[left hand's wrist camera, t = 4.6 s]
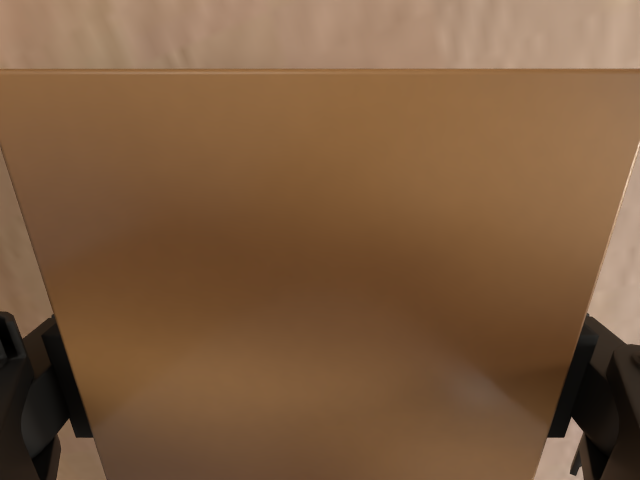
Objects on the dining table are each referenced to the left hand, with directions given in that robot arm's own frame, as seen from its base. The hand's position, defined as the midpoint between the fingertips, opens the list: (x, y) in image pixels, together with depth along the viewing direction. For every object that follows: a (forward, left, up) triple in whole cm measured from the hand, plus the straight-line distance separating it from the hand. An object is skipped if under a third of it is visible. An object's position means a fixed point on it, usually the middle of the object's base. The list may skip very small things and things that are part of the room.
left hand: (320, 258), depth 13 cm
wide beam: (+22, +5, 0) cm, 22 cm away
